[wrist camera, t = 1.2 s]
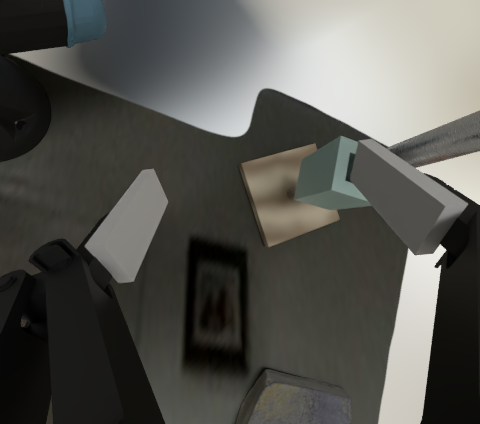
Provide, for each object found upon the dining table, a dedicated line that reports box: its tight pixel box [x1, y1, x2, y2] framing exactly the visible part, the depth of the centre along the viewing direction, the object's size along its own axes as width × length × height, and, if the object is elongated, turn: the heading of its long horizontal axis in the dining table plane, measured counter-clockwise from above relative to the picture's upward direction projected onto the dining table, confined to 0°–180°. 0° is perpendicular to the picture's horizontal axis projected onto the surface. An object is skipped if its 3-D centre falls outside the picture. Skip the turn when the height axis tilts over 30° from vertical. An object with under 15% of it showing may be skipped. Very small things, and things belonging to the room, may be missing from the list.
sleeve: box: [294, 136, 372, 210], centre depth 26 cm, size 6×6×8 cm
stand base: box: [239, 144, 340, 247], centre depth 37 cm, size 15×15×2 cm
